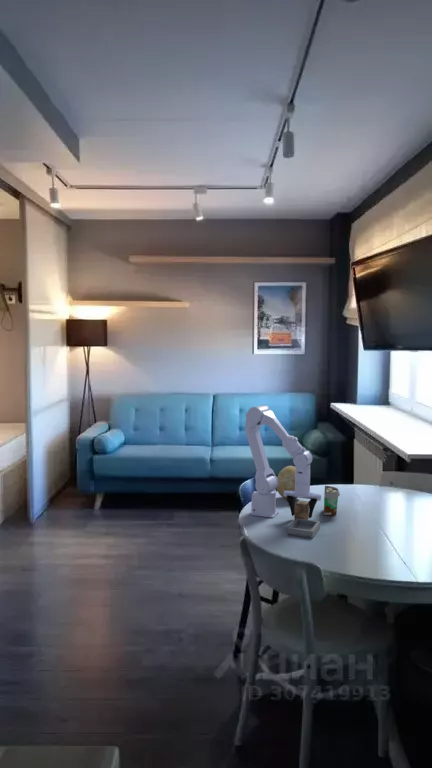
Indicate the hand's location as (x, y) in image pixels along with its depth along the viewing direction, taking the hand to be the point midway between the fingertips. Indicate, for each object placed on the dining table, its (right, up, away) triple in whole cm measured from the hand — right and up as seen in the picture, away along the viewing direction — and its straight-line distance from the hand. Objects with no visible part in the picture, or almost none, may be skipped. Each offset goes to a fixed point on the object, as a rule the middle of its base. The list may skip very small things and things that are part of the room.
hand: (301, 516), depth 224 cm
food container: (+14, -1, +10) cm, 17 cm away
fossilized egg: (-1, 0, +30) cm, 30 cm away
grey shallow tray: (-1, -3, -12) cm, 13 cm away
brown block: (0, -2, 0) cm, 2 cm away
